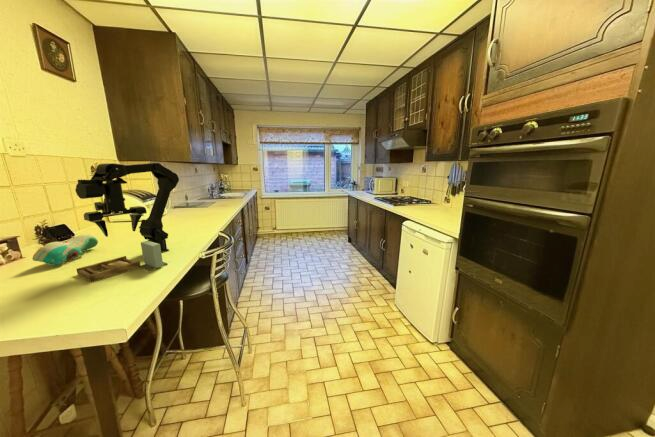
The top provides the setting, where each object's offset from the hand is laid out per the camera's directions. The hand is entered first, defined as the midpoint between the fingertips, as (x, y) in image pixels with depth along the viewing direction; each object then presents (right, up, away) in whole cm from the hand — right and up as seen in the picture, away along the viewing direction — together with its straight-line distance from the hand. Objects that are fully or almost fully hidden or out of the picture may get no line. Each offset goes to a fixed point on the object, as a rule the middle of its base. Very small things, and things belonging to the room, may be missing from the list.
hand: (120, 233), depth 101 cm
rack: (+1, -14, -6) cm, 15 cm away
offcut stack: (+2, -13, -3) cm, 14 cm away
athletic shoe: (-29, -12, +9) cm, 33 cm away
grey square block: (+14, -12, -1) cm, 19 cm away
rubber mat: (+14, -13, -1) cm, 19 cm away
